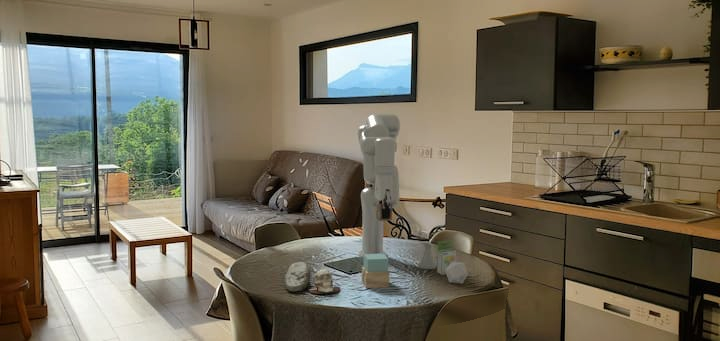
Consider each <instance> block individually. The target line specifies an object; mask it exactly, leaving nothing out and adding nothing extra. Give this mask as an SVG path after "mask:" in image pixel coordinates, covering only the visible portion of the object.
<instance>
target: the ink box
mask: <svg viewBox="0 0 720 341" xmlns="http://www.w3.org/2000/svg"><path fill="white" fill-rule="evenodd" d="M443 244H447V245H443ZM451 246H452V240H451V239H449V240H441V241H437V251H436V252H437V253H436V254H437V256H436V257H437V258H436V264H437V265H436V273H437V274H438V275H440V276H447V275H446V272H445V270H446V269H447V267H448V266H449V264H450V263H451V262H457V250H456V249H454V248H452V247H451Z"/></svg>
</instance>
